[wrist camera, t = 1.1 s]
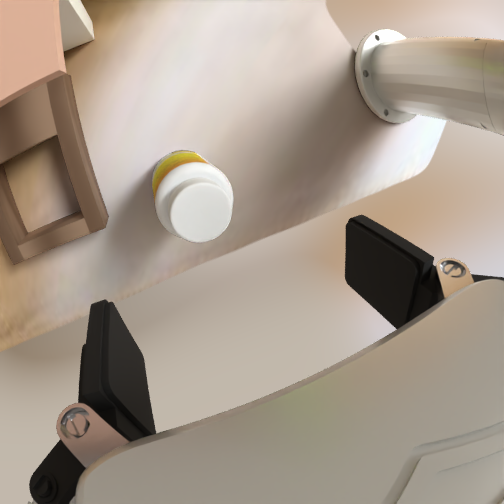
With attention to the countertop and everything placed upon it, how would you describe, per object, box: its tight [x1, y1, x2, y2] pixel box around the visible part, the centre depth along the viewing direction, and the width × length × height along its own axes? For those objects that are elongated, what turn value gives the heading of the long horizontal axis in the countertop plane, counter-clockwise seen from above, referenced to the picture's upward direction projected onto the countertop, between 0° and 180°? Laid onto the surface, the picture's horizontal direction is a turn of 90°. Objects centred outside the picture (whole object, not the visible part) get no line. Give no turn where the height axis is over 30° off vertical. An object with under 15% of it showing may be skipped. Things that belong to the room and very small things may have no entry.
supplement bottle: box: [152, 150, 234, 243], centre depth 22 cm, size 6×6×10 cm
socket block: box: [0, 74, 109, 265], centre depth 19 cm, size 11×14×3 cm
